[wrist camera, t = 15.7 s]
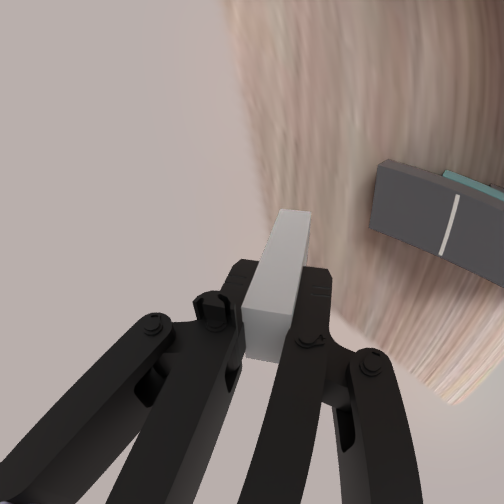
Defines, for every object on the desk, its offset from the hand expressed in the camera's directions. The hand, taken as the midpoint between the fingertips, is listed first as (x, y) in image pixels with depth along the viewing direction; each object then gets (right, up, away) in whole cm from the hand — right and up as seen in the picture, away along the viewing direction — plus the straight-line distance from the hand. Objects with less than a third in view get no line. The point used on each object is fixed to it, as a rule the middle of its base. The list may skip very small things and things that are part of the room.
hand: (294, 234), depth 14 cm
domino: (+7, +4, +5) cm, 10 cm away
